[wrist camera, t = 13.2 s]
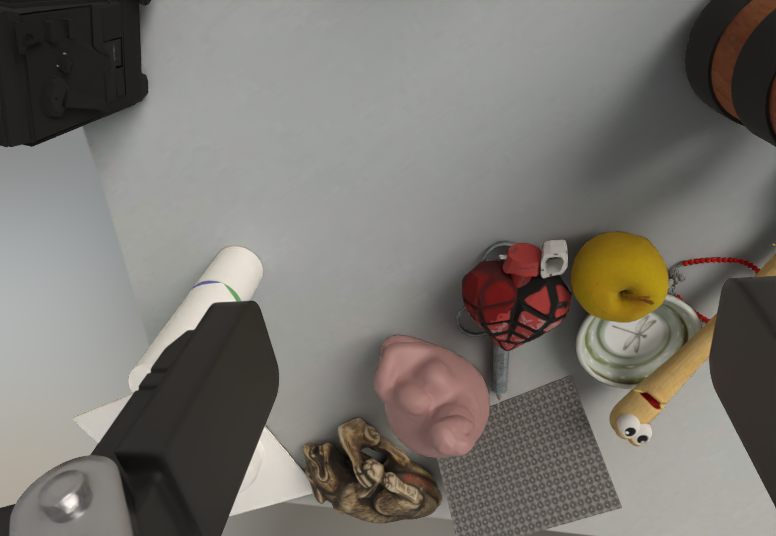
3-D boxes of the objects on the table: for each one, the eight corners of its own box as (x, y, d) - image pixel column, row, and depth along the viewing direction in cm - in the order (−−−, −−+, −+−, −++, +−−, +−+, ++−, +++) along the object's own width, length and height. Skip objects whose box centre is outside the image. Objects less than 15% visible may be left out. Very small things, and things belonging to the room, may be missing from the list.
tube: (255, 295, 51) (185, 421, 38) (210, 276, 50) (123, 398, 38) (269, 258, 49) (199, 379, 36) (221, 238, 48) (133, 354, 36)
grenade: (566, 367, 44) (584, 264, 38) (460, 363, 45) (462, 261, 39) (558, 321, 48) (574, 221, 41) (461, 319, 49) (463, 220, 42)
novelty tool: (1008, 158, 35) (664, 470, 46) (959, 147, 38) (647, 441, 49) (922, 81, 34) (584, 423, 44) (878, 76, 37) (572, 397, 47)
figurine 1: (340, 461, 52) (276, 503, 56) (452, 521, 57) (385, 554, 62) (347, 407, 56) (287, 449, 61) (449, 467, 62) (387, 501, 67)
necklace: (643, 293, 46) (646, 300, 45) (691, 233, 43) (695, 240, 42) (736, 334, 47) (741, 342, 46) (790, 279, 44) (797, 286, 43)
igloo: (72, 417, 63) (42, 455, 58) (211, 361, 56) (188, 400, 51) (186, 527, 71) (166, 568, 66) (319, 490, 64) (308, 532, 59)
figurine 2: (421, 296, 49) (409, 397, 39) (508, 371, 52) (518, 483, 42) (353, 350, 53) (326, 454, 43) (438, 417, 56) (431, 528, 46)
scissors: (541, 422, 52) (540, 408, 54) (558, 248, 43) (555, 238, 44) (456, 416, 53) (457, 403, 55) (454, 246, 44) (456, 236, 46)
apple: (669, 240, 43) (706, 301, 37) (608, 296, 46) (631, 361, 40) (605, 195, 42) (631, 249, 35) (546, 255, 45) (560, 315, 38)
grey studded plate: (570, 375, 51) (593, 390, 57) (430, 430, 57) (464, 438, 63) (622, 507, 45) (642, 509, 51) (460, 553, 51) (494, 550, 57)
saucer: (586, 270, 46) (592, 286, 44) (711, 285, 45) (722, 301, 43) (560, 364, 51) (564, 382, 49) (672, 378, 50) (681, 397, 48)
